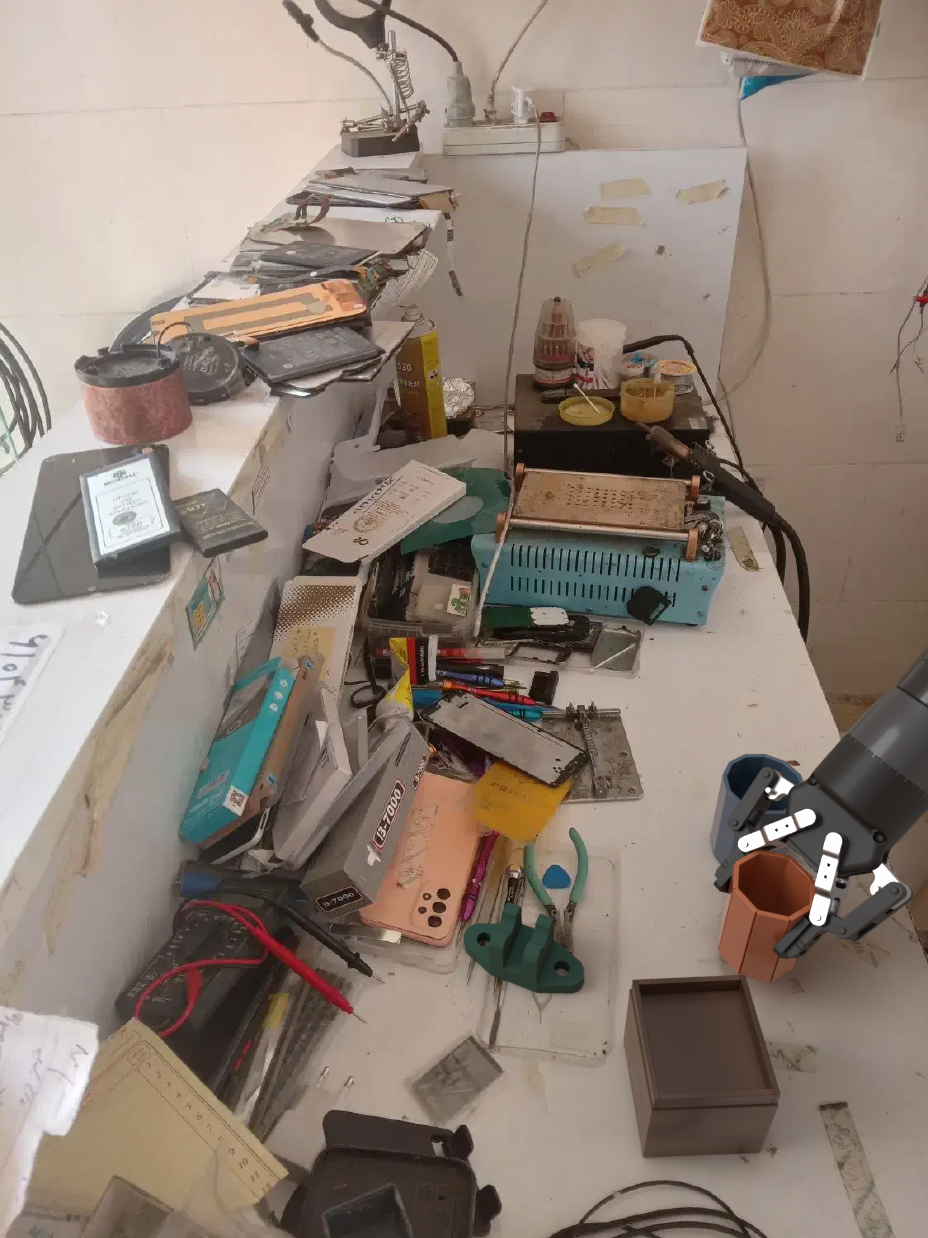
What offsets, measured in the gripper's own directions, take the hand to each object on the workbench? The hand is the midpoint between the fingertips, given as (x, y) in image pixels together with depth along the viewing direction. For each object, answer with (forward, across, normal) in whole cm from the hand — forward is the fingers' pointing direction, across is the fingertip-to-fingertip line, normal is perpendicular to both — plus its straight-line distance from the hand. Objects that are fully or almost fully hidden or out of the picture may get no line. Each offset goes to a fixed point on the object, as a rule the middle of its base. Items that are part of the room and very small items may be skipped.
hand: (750, 920), depth 65 cm
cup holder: (+12, +6, -2) cm, 14 cm away
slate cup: (-1, -9, +12) cm, 15 cm away
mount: (+16, -10, -5) cm, 20 cm away
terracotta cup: (+3, 0, +5) cm, 6 cm away
